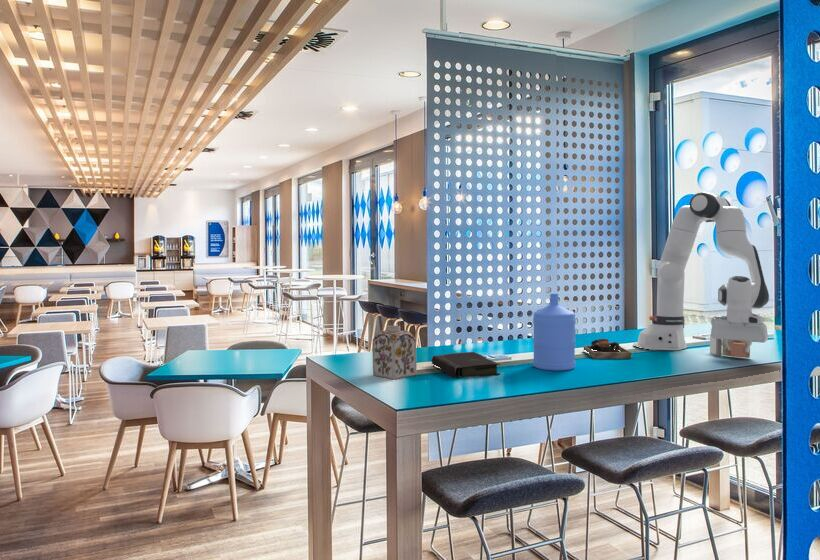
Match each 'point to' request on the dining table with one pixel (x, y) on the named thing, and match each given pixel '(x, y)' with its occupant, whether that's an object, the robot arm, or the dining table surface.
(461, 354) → the diary
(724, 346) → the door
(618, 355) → the frame
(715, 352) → the light grey slab
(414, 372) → the decorative jar
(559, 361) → the water jug
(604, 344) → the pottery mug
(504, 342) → the dining table surface
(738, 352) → the salmon pink block
